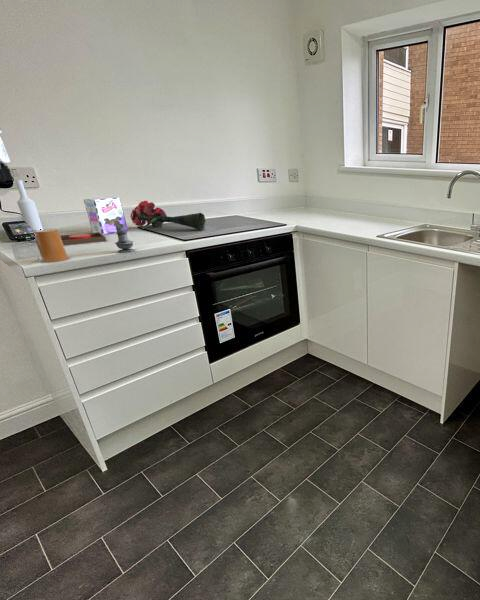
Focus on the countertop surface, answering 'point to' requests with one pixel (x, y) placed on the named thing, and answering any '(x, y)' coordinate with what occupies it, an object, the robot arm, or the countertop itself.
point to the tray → (94, 238)
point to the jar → (50, 245)
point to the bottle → (28, 208)
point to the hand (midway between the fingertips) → (3, 180)
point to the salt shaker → (123, 239)
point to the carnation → (163, 217)
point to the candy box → (105, 214)
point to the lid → (79, 236)
